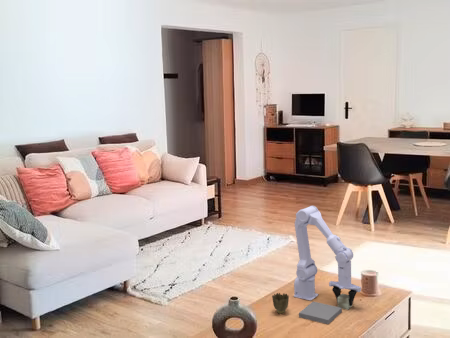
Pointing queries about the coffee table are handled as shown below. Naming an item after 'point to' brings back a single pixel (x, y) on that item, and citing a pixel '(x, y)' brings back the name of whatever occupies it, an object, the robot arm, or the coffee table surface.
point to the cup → (280, 302)
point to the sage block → (344, 301)
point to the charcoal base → (320, 312)
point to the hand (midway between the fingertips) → (345, 303)
